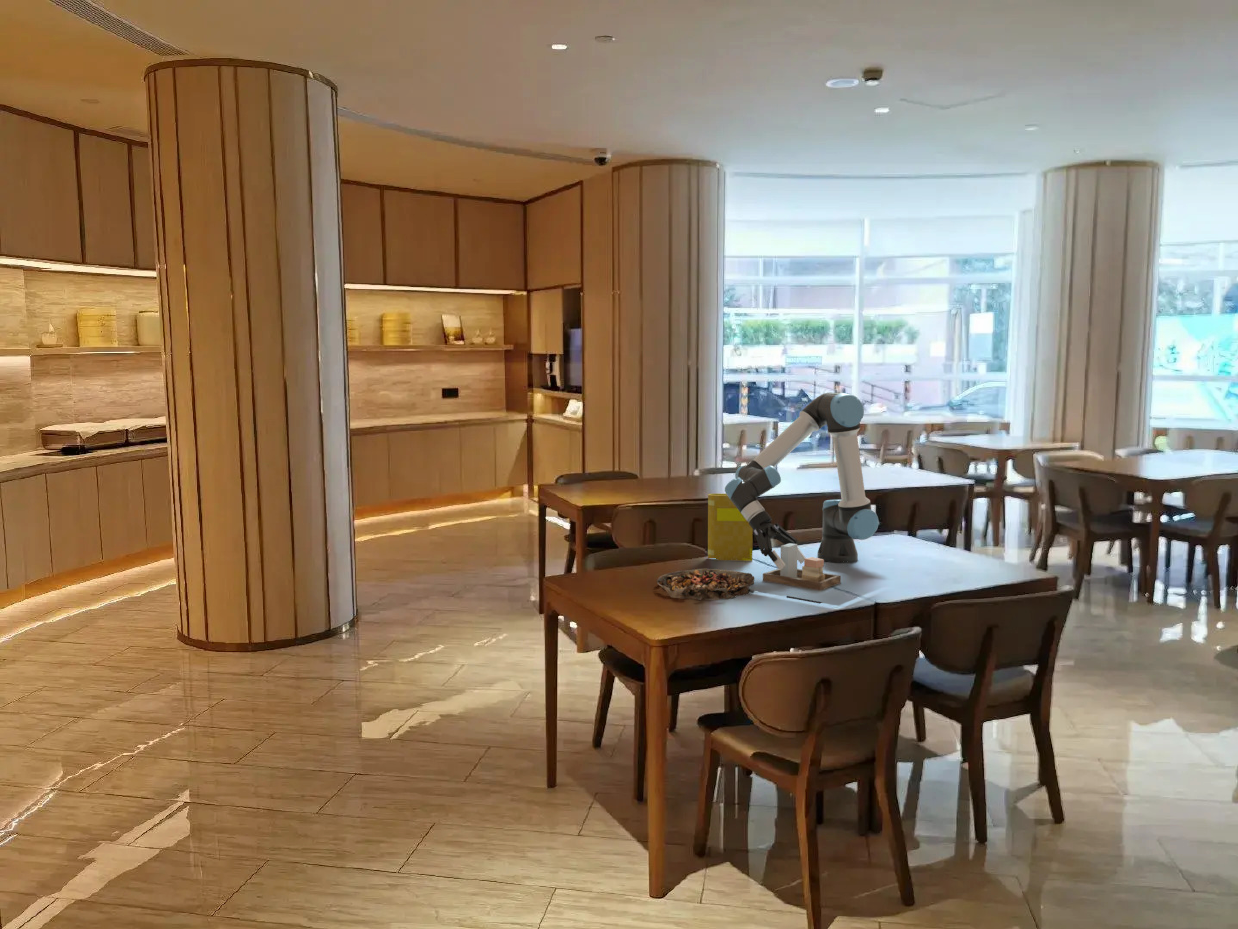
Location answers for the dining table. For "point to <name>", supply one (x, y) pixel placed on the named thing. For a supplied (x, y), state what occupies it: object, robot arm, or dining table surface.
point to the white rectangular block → (789, 560)
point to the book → (727, 530)
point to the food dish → (706, 584)
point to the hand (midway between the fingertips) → (793, 564)
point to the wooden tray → (802, 580)
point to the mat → (804, 599)
